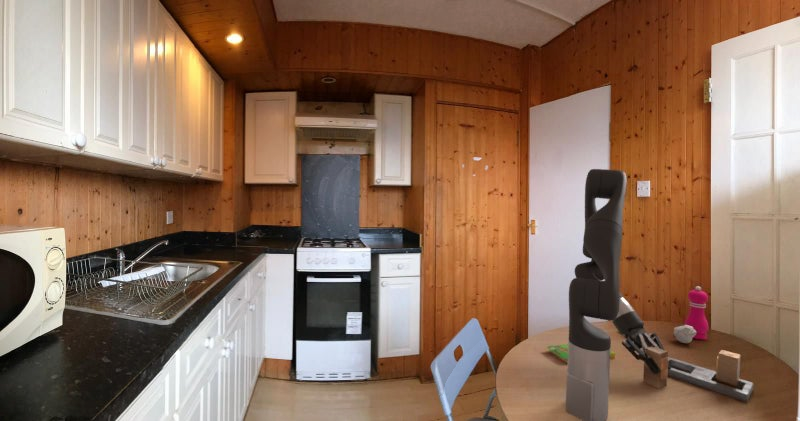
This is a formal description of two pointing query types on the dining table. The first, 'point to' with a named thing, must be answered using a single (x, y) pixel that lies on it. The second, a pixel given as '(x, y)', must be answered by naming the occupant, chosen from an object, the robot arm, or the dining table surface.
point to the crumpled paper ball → (684, 333)
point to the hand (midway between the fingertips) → (662, 371)
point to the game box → (566, 352)
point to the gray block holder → (715, 375)
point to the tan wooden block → (662, 362)
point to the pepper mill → (697, 313)
